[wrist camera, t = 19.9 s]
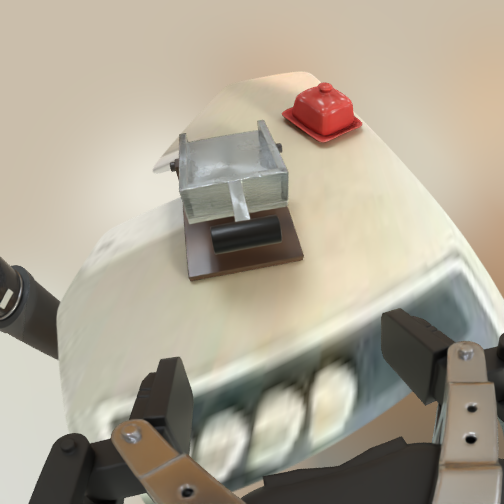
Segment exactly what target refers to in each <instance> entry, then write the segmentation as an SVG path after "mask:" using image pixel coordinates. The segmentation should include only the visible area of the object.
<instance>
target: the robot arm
mask: <svg viewBox="0 0 504 504" xmlns="http://www.w3.org/2000/svg"><path fill="white" fill-rule="evenodd" d="M23 294H24V281H23V278H22V276H21V275H20V274H19V273H18V272H17V271H16V270H14V269H13V268H12V267H11V266H10V265H8V264H7V263H6V262H5V261H4V260H3V259H2V258H1V257H0V321H4V320H7V319H8V318H10V317H11V316H12V315H13V314H14V313H15V312H16V310H17V309H18V307H19V305H20V303H21V301H22V298H23ZM381 350H382V354H383V357H384V359H385V360H386V362H387V363H388V364H389V365H390V366H391V367H392V368H393V369H394V371H395V372H396V373H397V374H398V375H399V376H400V377H401V378H402V380H403V381H404V382H405V383H406V384H407V385H408V386H409V387H410V389H411V390H412V391H413V392H414V393H415V394H416V395H417V397H418V398H419V399H420V400H421V401H422V402H423V403H424V404H425V405H428V404H430V403H432V402H434V401H437V402H438V408H437V413H436V420H435V428H434V433H433V439H432V443H413V444H407V443H406V442H405V440H404V439H403V438H402V437H399V438H396V439H394V440H391V441H388V442H386V443H383V444H381V445H378V446H375V447H372V448H370V449H368V450H367V451H365V452H363V453H362V454H360V455H358V456H356V457H355V458H353V459H351V460H349V461H347V462H346V463H344V464H342V465H340V466H335V467H324V468H310V469H297V470H293V471H288V472H284V473H279V474H274V475H268V476H263V480H264V486H263V487H260V488H258V489H256V490H254V491H252V492H250V493H248V494H247V495H245V496H243V497H242V498H241V499H240V498H239V497H237V496H236V495H235V494H234V493H232V492H231V491H230V490H228V489H227V488H226V487H225V486H223V485H222V484H221V483H220V482H219V481H217V480H216V479H215V478H214V477H213V476H211V475H210V474H209V473H208V472H207V471H206V470H204V469H203V468H202V467H201V466H200V465H199V464H198V463H197V462H195V461H194V460H193V459H192V458H191V457H190V456H189V451H190V438H191V426H192V415H193V404H194V402H193V394H192V390H191V386H190V384H189V381H188V378H187V375H186V372H185V369H184V366H183V363H182V360H181V358H180V357H173V358H166V359H161V360H160V362H159V365H158V368H157V372H154V373H149V374H148V375H147V377H146V378H145V379H144V380H143V381H142V383H141V386H140V389H139V390H140V391H139V392H138V395H137V398H136V400H135V403H134V406H133V409H132V412H131V415H130V418H129V420H128V421H125V422H123V423H121V424H120V425H118V426H117V427H116V428H115V429H114V430H113V432H112V434H111V438H110V439H107V440H103V441H99V442H95V443H89V441H88V440H87V438H86V437H85V436H83V435H82V434H78V433H72V434H67V435H65V436H62V437H61V438H59V439H58V440H57V441H56V442H55V443H54V444H53V446H52V448H51V451H50V453H49V455H48V457H47V460H46V462H45V464H44V467H43V469H42V472H41V474H40V476H39V479H38V481H37V484H36V486H35V489H34V491H33V494H32V496H31V499H30V501H29V504H123V503H124V498H126V497H130V496H135V495H139V494H143V493H147V494H148V495H149V497H150V498H151V499H152V500H153V502H154V503H155V504H504V459H499V458H498V424H497V416H498V417H499V418H500V419H501V420H502V421H503V422H504V333H503V334H502V335H501V336H500V338H499V343H498V346H497V347H493V348H489V349H484V350H483V348H482V347H481V346H480V345H479V344H477V343H474V342H470V341H461V342H454V341H453V340H452V339H450V338H449V337H447V336H446V335H445V334H443V333H442V332H441V331H439V330H437V328H435V327H434V326H431V324H430V323H428V322H427V321H425V320H424V319H421V318H418V317H415V316H410V315H409V314H408V313H406V312H405V311H404V310H402V309H401V308H398V309H395V310H392V311H388V312H385V313H383V314H382V317H381Z"/></svg>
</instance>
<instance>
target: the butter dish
mask: <svg viewBox="0 0 504 504" xmlns="http://www.w3.org/2000/svg"><path fill="white" fill-rule="evenodd" d="M282 115H283V116H284V117H285V118H286V119H288V120H289V121H290V122H292V123H293V124H295V125H296V126H297V127H299V128H300V129H302V130H303V131H304V132H306V133H307V134H308V135H310V136H311V137H313V138H314V139H316V140H317V141H319V142H327V141H330V140H332V139H334V138H336V137H338V136H340V135H342V134H345V133H347V132H349V131H351V130H354V129H356V128H359V127H360V126H362V122H361V121H360V120H359V119H358V118H356V117H355V116H354V114H353V105H352V102H351V100H350V99H349V98H348V97H346V96H345V95H344V94H342V93H341V92H339V91H338V90H335V89H334V88H333V87H332V85H331V84H329V83H320V84H319V85H318V86H317V87H313V88H310V89H307V90H305V91H303V92H302V93H300V94H299V95H298V96H297V97H296V100H295V103H294V106H293V107H292V108H290V109H287V110H286V111H284V112H283V113H282Z"/></svg>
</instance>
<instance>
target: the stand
mask: <svg viewBox="0 0 504 504" xmlns="http://www.w3.org/2000/svg"><path fill="white" fill-rule="evenodd" d="M275 144H276V143H275ZM276 146H277V148H278V151H279V153H281V152H282V145H281V143H279V144H276ZM170 168H171V171H172V172H173V171H176V173H177V176H178V179H179V159H175V162H171V163H170ZM183 215H184V229H185V241H186V253H187V264H188V275H189V279H190V281H194V280H200V279H205V278H211V277H216V276H221V275H227V274H232V273H237V272H243V271H248V270H253V269H259V268H264V267H269V266H274V265H279V264H285V263H290V262H295V261H300V260H303V256H304V255H303V252H302V249H301V246H300V243H299V240H298V237H297V234H296V231H295V228H294V225H293V222H292V219H291V216H290V213H289V210H288V207H281V208H276V209H270V210H264V211H258V212H253V213H249V215H250V219H254V218H259V217H265V216H271V215H277V216H278V218H279V222H280V226H281V231H282V242H281V243H276V244H270V245H265V246H260V247H254V248H249V249H244V250H238V251H233V252H228V253H222V254H217V255H216V254H215V253H214V249H213V244H212V239H211V233H210V227H211V226H216V225H221V224H226V223H232V222H235V218H234V216H231V217H225V218H220V219H215V220H209V221H204V222H199V223H194V224H189V222H188V218H187V215H186V212H185V209H184V205H183Z"/></svg>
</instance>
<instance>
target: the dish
mask: <svg viewBox="0 0 504 504" xmlns="http://www.w3.org/2000/svg"><path fill="white" fill-rule="evenodd" d="M257 124H258V130H257V131H250V132H243V133H237V134H231V135H225V136H219V137H214V138H208V139H203V140H198V141H193V142H188V140H187V136H186V133H183V134H179V192H180V195H181V199H182V202H183V205H184V209H185V212H186V215H187V218H188V222H189V224H194V223H199V222H204V221H209V220H215V219H220V218H225V217H231V216H234V218H235V222H232V223H226V224H221V225H216V226H211V227H210V233H211V239H212V244H213V249H214V253H215V254H216V255H217V254H222V253H228V252H233V251H238V250H244V249H249V248H254V247H260V246H265V245H270V244H276V243H281V242H282V231H281V226H280V222H279V218H278V216H277V215H271V216H265V217H259V218H254V219H250V215H249V213H253V212H258V211H264V210H270V209H276V208H281V207H287V206H288V170H287V168H286V166H285V163H284V161H283V159H282V157H281V155H280V153H279V151H278V148H277V146H276V144H275V142H274V140H273V138H272V136H271V134H270V132H269V130H268V127H267V125H266V123H265V121H264V120H259V121H257Z"/></svg>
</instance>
